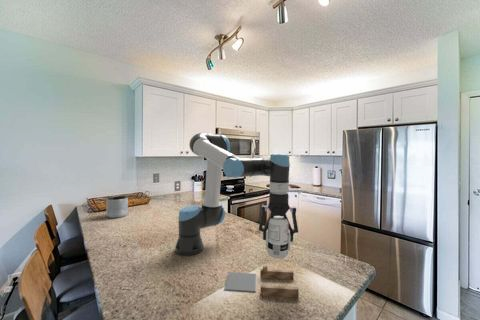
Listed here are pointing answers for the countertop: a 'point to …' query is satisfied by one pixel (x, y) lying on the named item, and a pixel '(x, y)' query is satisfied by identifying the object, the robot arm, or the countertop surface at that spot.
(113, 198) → the planter
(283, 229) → the supplement can
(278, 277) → the cradle
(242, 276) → the mat
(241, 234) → the countertop surface
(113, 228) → the countertop surface
